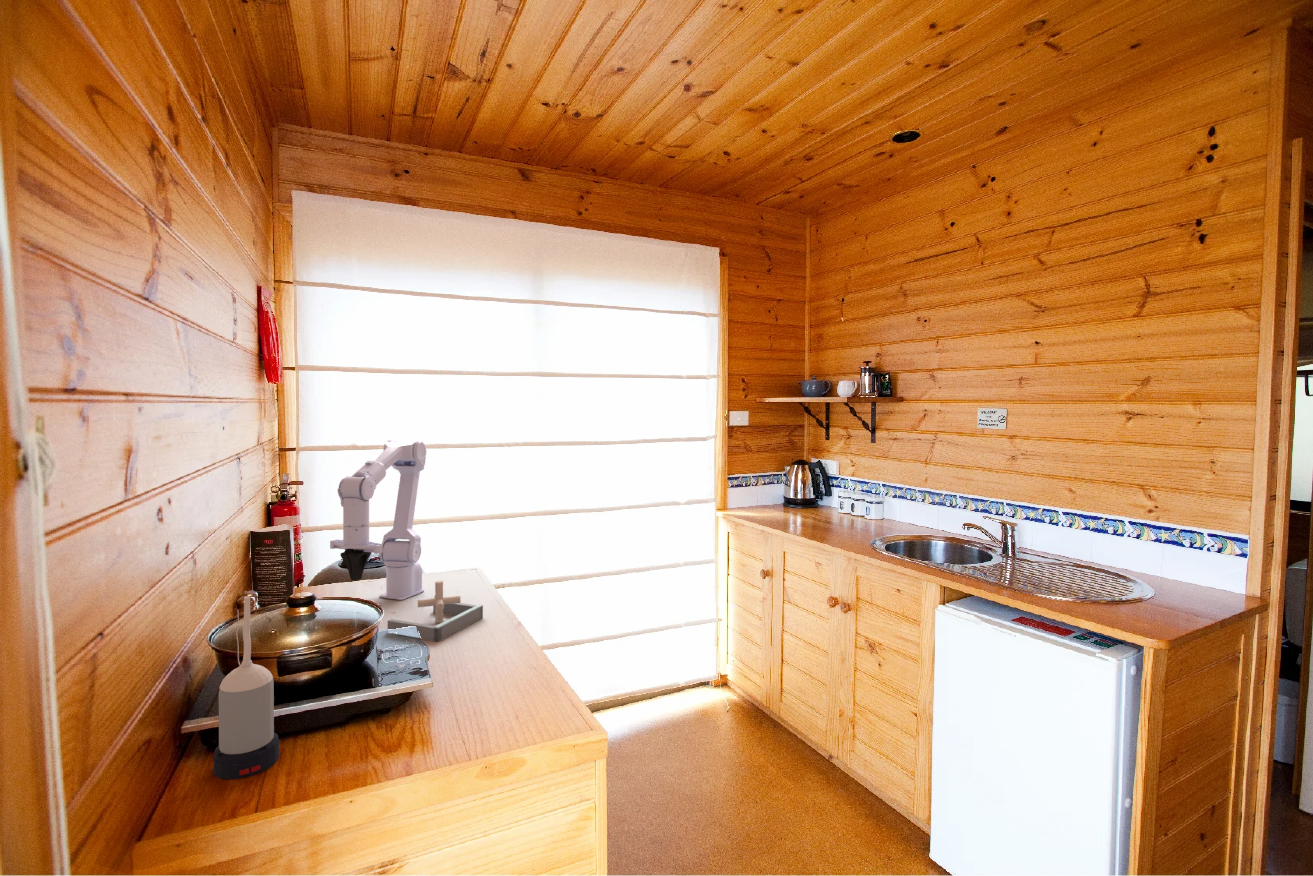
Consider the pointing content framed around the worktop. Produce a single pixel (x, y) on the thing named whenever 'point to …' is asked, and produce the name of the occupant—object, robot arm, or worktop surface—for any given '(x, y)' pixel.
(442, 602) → the pipe connector
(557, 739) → the worktop surface
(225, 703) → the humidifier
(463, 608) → the frame
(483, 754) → the worktop surface
